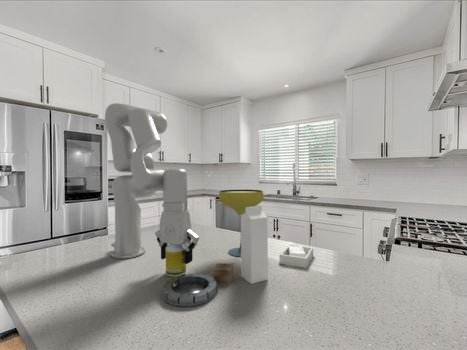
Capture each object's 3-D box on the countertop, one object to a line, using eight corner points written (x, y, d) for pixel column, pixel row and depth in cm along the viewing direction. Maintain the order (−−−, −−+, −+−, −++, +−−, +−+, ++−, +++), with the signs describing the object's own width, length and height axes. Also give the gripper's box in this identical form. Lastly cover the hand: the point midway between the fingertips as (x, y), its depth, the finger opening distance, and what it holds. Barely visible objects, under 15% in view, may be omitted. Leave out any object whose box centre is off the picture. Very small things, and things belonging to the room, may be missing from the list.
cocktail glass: (238, 264, 85) (238, 193, 85) (210, 251, 100) (210, 190, 99) (273, 253, 97) (272, 191, 97) (243, 243, 111) (243, 188, 111)
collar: (150, 298, 62) (150, 290, 62) (186, 276, 75) (186, 270, 75) (196, 313, 55) (196, 304, 55) (227, 286, 68) (227, 279, 68)
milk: (268, 279, 73) (268, 206, 73) (251, 284, 70) (251, 208, 70) (256, 272, 78) (256, 204, 78) (240, 276, 75) (240, 205, 75)
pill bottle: (181, 278, 74) (180, 240, 74) (161, 276, 75) (161, 239, 75) (189, 269, 81) (189, 235, 80) (171, 268, 82) (171, 234, 82)
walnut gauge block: (213, 283, 71) (213, 269, 71) (217, 275, 76) (217, 263, 76) (230, 284, 70) (230, 270, 70) (232, 276, 75) (232, 264, 75)
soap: (288, 253, 95) (288, 245, 95) (302, 253, 94) (302, 246, 94) (290, 261, 86) (290, 253, 86) (306, 262, 85) (306, 253, 85)
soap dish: (279, 263, 86) (279, 254, 86) (289, 252, 98) (289, 244, 98) (306, 267, 82) (306, 258, 82) (313, 255, 93) (313, 247, 93)
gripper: (147, 207, 79) (148, 260, 78) (189, 210, 70) (190, 268, 70) (163, 204, 85) (164, 253, 85) (204, 207, 77) (205, 260, 77)
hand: (176, 260), depth 78 cm, fingers open, 9 cm apart
